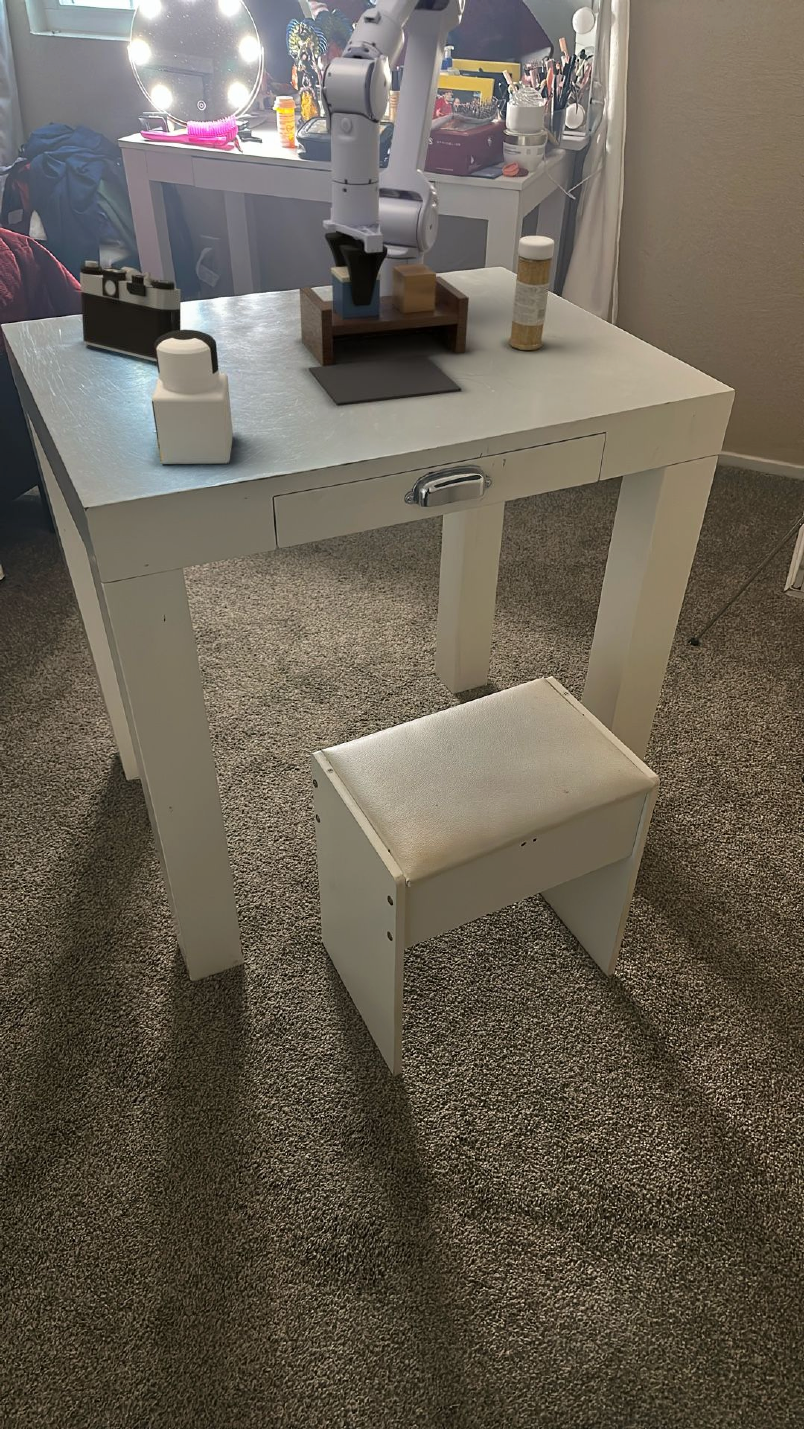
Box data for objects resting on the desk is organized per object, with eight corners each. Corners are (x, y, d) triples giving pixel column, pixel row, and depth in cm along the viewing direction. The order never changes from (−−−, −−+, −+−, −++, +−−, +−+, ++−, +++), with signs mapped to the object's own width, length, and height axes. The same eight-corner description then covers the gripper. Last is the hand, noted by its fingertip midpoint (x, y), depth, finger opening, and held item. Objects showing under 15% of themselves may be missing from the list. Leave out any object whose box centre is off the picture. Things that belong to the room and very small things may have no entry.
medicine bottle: (167, 436, 102) (152, 323, 95) (233, 436, 103) (223, 324, 95) (160, 465, 97) (143, 348, 89) (229, 464, 98) (218, 348, 90)
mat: (308, 369, 119) (308, 367, 119) (425, 357, 123) (425, 355, 123) (337, 405, 110) (337, 402, 110) (460, 390, 115) (461, 388, 115)
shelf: (301, 341, 127) (299, 287, 122) (437, 328, 133) (439, 276, 128) (322, 367, 120) (321, 310, 115) (465, 352, 125) (469, 297, 121)
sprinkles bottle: (525, 338, 130) (537, 232, 122) (548, 347, 128) (562, 240, 119) (501, 344, 128) (512, 237, 120) (525, 353, 126) (537, 245, 117)
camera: (213, 356, 125) (214, 275, 120) (160, 364, 117) (159, 277, 112) (128, 336, 130) (126, 257, 125) (71, 343, 122) (66, 258, 117)
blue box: (331, 308, 122) (330, 267, 119) (369, 305, 124) (369, 264, 121) (342, 319, 119) (341, 277, 116) (380, 315, 121) (381, 274, 117)
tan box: (391, 303, 125) (392, 266, 122) (422, 300, 126) (423, 264, 123) (403, 313, 122) (404, 275, 119) (434, 310, 123) (436, 273, 120)
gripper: (306, 169, 116) (310, 285, 124) (341, 194, 105) (343, 318, 114) (360, 167, 118) (360, 281, 126) (400, 191, 107) (397, 314, 116)
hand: (355, 299), depth 120 cm, fingers closed on blue box, 4 cm apart
